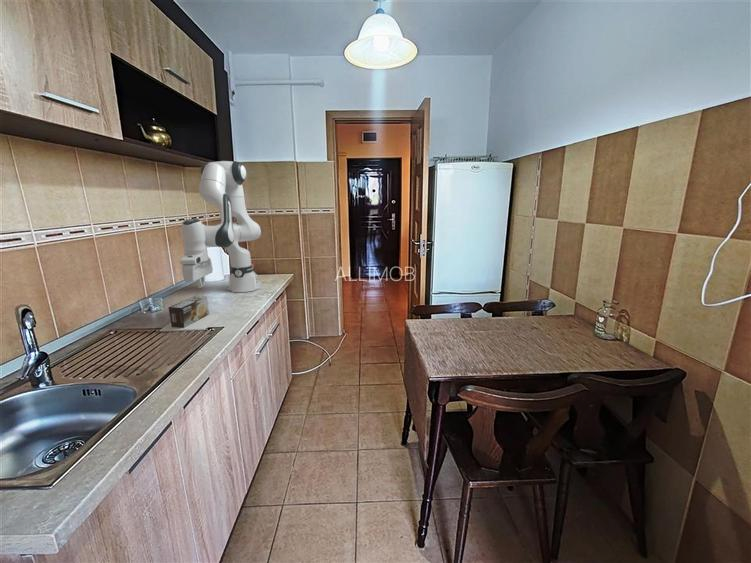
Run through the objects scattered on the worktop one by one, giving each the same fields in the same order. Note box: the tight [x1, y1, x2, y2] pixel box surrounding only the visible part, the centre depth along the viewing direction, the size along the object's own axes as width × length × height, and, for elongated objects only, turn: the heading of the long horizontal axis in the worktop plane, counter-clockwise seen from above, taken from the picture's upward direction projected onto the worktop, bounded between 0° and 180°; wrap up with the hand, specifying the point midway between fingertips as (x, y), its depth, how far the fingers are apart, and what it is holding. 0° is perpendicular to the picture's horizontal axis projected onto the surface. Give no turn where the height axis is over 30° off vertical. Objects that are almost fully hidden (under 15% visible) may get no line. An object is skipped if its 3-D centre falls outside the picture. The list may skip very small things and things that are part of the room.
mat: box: [159, 314, 221, 332], centre depth 146 cm, size 16×18×1 cm
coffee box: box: [168, 295, 210, 328], centre depth 146 cm, size 9×6×16 cm
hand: (201, 287), depth 151 cm, fingers closed
